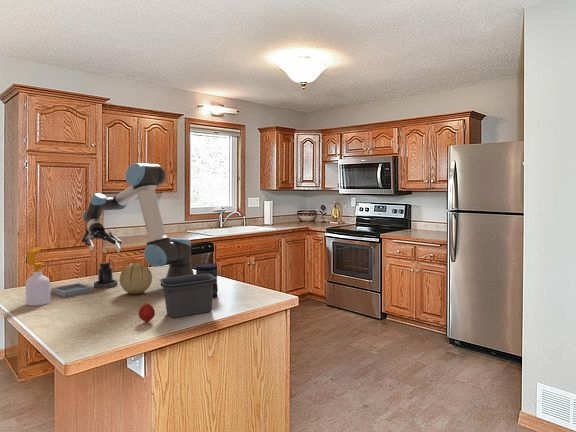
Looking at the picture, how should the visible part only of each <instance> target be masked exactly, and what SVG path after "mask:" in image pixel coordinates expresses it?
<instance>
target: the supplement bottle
mask: <svg viewBox="0 0 576 432" xmlns="http://www.w3.org/2000/svg"><path fill="white" fill-rule="evenodd" d="M113 276H114V275H113V268H112V267H111V263H110V262H109V261H104V262H99V268H98V270H97V277H98V279H97V281H98V283H99V284H109V283H113V280H114V278H113Z"/></svg>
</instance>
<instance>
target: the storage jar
mask: <svg viewBox="0 0 576 432" xmlns="http://www.w3.org/2000/svg"><path fill="white" fill-rule="evenodd" d="M195 267H196V271H195V274H211V275H213V276H215V277H216V279H215V281H216V283H215V284H213V296H212V300H214V299H216V298H217V297H218V296H219V295H218V293H219V292H218V291H219V290H218V288H219V286H218V264H217V263H216V262H202V263H197V264H195Z"/></svg>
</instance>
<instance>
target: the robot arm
mask: <svg viewBox="0 0 576 432" xmlns="http://www.w3.org/2000/svg"><path fill="white" fill-rule="evenodd" d="M166 179H167V173H166V170H165V169H164V167H162V165H159V164H158V163H142V162H139V163H138V162H137V163H135V162H133V163H132V164H130V165H129V166H128V167H127V169H126V171H125V181H126V183H127V185H129V186H128V187H127V188H124V190H122V191H121V192H118V193H117V194H116V195H114V196H106V195H105V194H103V193H99V192H95V193H93V194H92V196H91V198H90V200H89V204H88V208H87V210H85V211H84V212H83V214H82V219H83V222H84V223H85V226H86V227H87V229H86V230H85V232H84V235H83V237H82V239H81V243H84V245H87V247H89V250H90V251H92V252H93V251H94V248H95V245H94V244H93V240H95V239H97V240H104V241H106V242H109V243H111V244H112V245H114V246H113V247H114V248H115V250H116V252H117V253H120V251H121V244H122V242H123V241H122V240H121V239H120V238H118V237H117V236H115V234H114V233H112V232H109V233H107V232H106V230H105V227H104V225H103V223H102V221H101V219H100V218H101V216H102V213H103V211H116V210H118V211H121V210H124V209H126V207H127V206H128V204H129V203H131V202H132V201H134V200H136V199H137V198H138V201H139V205H140V209H141V214H142V218H143V222H144V225H145V229H146V233H147V237H148V239H147V241H146V246H145V248H144V251H143V257H144V260H145V261H146V262H147V264H149V265H150V266H151V267H155V268H158V267H164V266H168V269H167V274H166V277H165V278H169V277H178V276H186V275H194V270H193V267H192V244H191V240H190V239H188V238H180V237H179V238H178V237H177V238H176V237H169V236H168V235H167V234H166V231H165V227H164V223H163V220H162V219H163V218H162V214H161V211H160V207H159V203H158V199H157V194H156V189H158V188H159V187H161V186H162V185H163V184H164V183H165V182H166Z"/></svg>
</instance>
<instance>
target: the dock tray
mask: <svg viewBox="0 0 576 432" xmlns="http://www.w3.org/2000/svg"><path fill="white" fill-rule="evenodd" d="M92 292H93V286H91V285H88V284H84V283H80V282H76V283H71V284H66V285H61V286H55V287H51V294H53V295H56V296H60V297H62V298H69V297H73V296H79V295H84V294H89V293H92Z"/></svg>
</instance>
